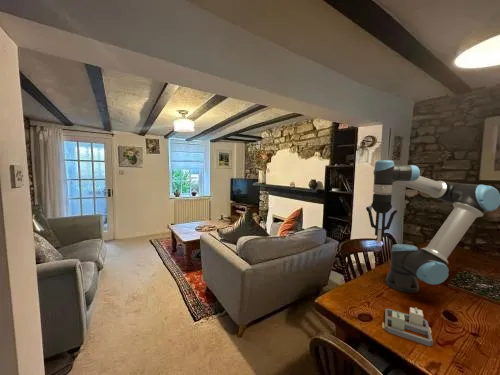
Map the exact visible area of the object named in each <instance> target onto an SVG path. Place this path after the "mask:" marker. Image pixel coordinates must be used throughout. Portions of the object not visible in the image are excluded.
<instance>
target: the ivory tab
mask: <svg viewBox="0 0 500 375" xmlns="http://www.w3.org/2000/svg"><path fill="white" fill-rule="evenodd" d="M423 319H424V313H423V310H422V309H418V307H416V306H415V307H409V320H408V322H409V323H412V324H416V325H419V326H422V327H423V326H424V325H423Z"/></svg>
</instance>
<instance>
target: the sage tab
mask: <svg viewBox="0 0 500 375" xmlns="http://www.w3.org/2000/svg"><path fill="white" fill-rule="evenodd" d="M396 311H397V312H394V311H392V315H391V317H392V320H391V324H390V327H392V328H395V329H399V330H402V331H405V329H404V325H405V321H406V319H405V317H404V314H401V313H399V312H400V311H398V310H396Z"/></svg>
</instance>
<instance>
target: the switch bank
mask: <svg viewBox="0 0 500 375" xmlns="http://www.w3.org/2000/svg"><path fill="white" fill-rule="evenodd" d="M384 310H385V312H384V322H382V323H381V324H382V329H384V331H385V332H387V333H388V334H391V335H394V336H397V337H400V338H403V339H407V340H408V341H412V342H415V343H417V344H421V345H424V346H427V347H433V345H434V341H433V337H432V329H431V327H430V325H429V323H428V320H426V319H425V318H423V325H422V326H419V325H416V324H412V323H409V314H408V313H404V312H401V311H398V310H396V309H395V310H394V309H390V308H385V309H384ZM392 311H394V312H397V311H398V312H399V313H401V314H404V317H405V325H404V331H402V330H399V329H395V328H392V327H391V326H389V325H391V320H392ZM388 324H389V325H388ZM405 330H407V331H405ZM408 331H410V332H414V333H417V334H420V335H423V336H426V337H427V338H426V337H422V336H420V335H416V334H414V333H410V332H408Z"/></svg>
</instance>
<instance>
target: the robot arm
mask: <svg viewBox="0 0 500 375" xmlns="http://www.w3.org/2000/svg"><path fill="white" fill-rule="evenodd" d="M393 184H397V185H401V186H403V187H405V188H410V189H413V190H415V191H418V192H422V193H425V194H428V195H429V196H430V197H431V198H433V199H437V200H440V201H442V202H444V203H448V204H450V205H452V206H453V209H452V211H451V212H450V214H449V215H448V216H447V218H446V219H445V221H444V222H443V224H442V225H441V226H440V228H439V229H438V231H437V232H436V234H435V235H434V236H433V238H432V239H431V241H429V243H428V244H427V245H426V246H425V247H422V248H421V247H420V249H419V248H418V247H417V246H415V245H411V244H405V243H404V244H403V243H397V244H393V245H392V246H391V251H390V253H391V254H390V267H389V271H388V272H387V275H386V277H385V284H386V285H388V286H389V287H390V288H392V289H394V290H397V291H399V292H402V293H408V294H414V293H417V292H419V291H420V290H419V288H420V287H419V282H418V280H420V282H424V283H426V284H428V285H434V286H435V285H439V284H442V283H444V282H445V281H446V280H447V279H448V278H449V275H450V274H449V272H450V270H449V267H448V265H449V260H448V258H449V256H450V255H451V254H452V252H453V251H454V249H455V248H456V246H457V245H458V244H459V243H460V241H461V240H462V238H463V237H464V235H465V234H466V232H467V231H468V230H469V228H470V227H471V225H472V224H473V223H474V222H475V220H476V219H477V218H481V217H483V216H484V215H485V213H486V212H492V211H495V210H497V209H498V208H499V206H500V191H499V190H498V189H497V188H496V187H494V186H492V185H485V184H474V183H473V184H472V183H460V182H447V181H443V180H434V179H431V178H428V177H424V176H421V171H420V168H419V167H418V166H417V165H413V164H412V165H411V164H395V162H394V160H384V159H383V160H376V161H375V164H374V170H373V189H372V190H373V194H372V203H370V204H371V205H369V206H366V208H365V209H366V211H367V213H368V214H367V215H368V218H369V222H370V226H371V228H374V236H376V239H377V240H376V243H377V244H381V243H382V237H385V231H387V230H389V229H390V228H391V224H392V222H393V220H394V217H395V215H396V214H397V213H398V209H396V208H395V207H393V205H392V197H393V196H392V193H393ZM372 209H373V211H374V212H375V213H376V214H375V223H374V217H373V213H372ZM389 211H390V212H391V213H390V216H389V218H388V221H387V223H386V214H388V212H389ZM380 214H382V219H381V228H379V226H380V225H379V220H380Z"/></svg>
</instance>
